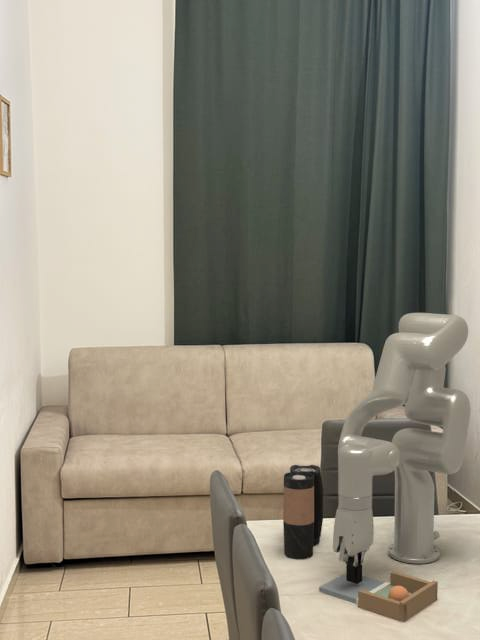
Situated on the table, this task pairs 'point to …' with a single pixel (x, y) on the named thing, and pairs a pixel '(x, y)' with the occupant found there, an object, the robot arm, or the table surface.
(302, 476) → the travel mug
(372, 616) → the table surface
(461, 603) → the table surface
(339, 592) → the lane
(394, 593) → the ball
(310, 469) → the portable speaker
